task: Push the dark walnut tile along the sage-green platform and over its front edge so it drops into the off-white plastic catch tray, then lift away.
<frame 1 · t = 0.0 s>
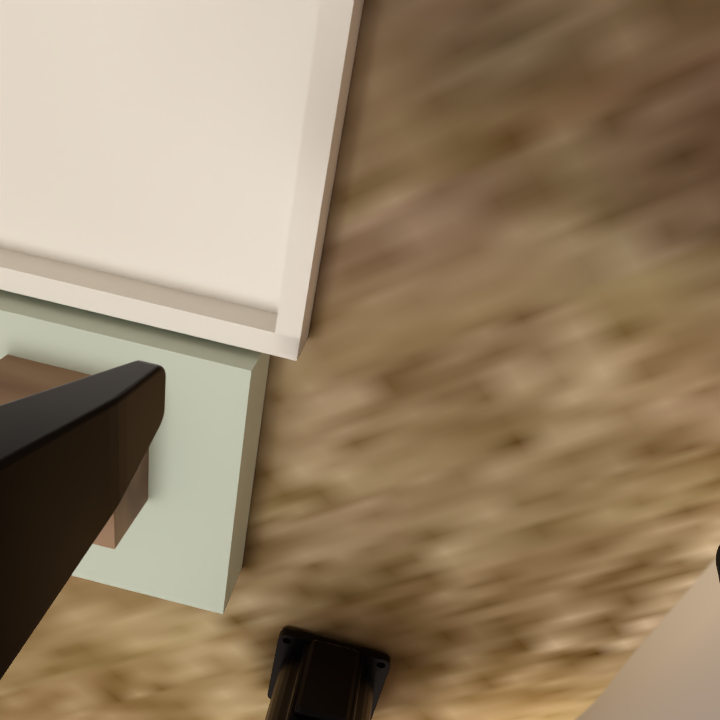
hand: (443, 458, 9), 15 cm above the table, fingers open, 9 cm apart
walnut tile: (81, 430, 26), point 3 cm above the table, touching platform
platform: (116, 432, 29), on the table
catch tray: (111, 110, 22), on the table
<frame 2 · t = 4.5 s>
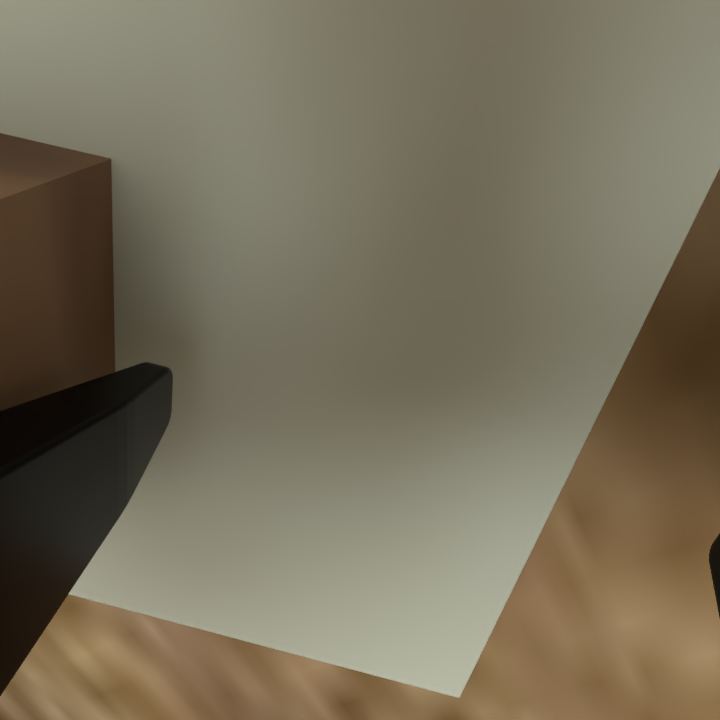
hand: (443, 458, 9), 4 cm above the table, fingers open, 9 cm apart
platform: (216, 283, 13), on the table
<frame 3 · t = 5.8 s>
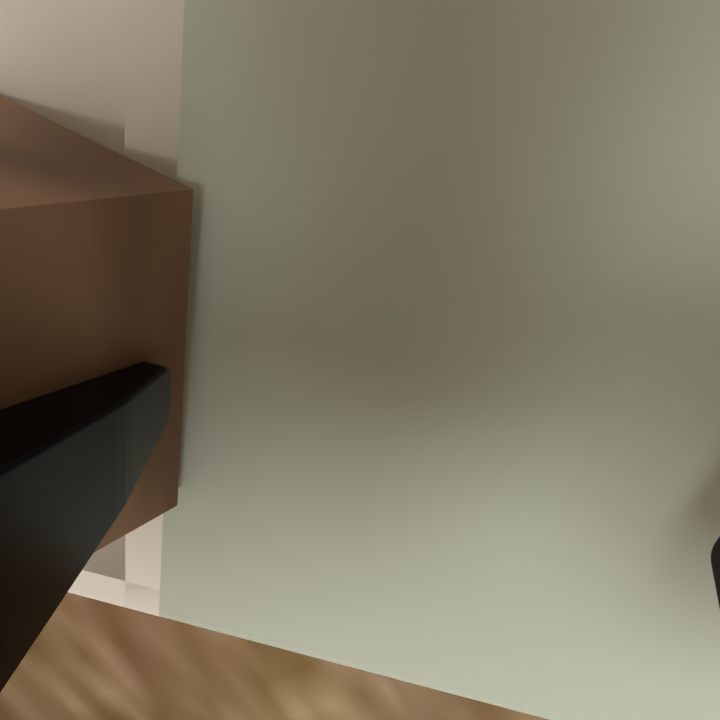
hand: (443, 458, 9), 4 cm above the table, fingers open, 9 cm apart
walnut tile: (82, 298, 11), point 2 cm above the table, tilted 30°, touching catch tray, gripper
platform: (565, 368, 12), on the table
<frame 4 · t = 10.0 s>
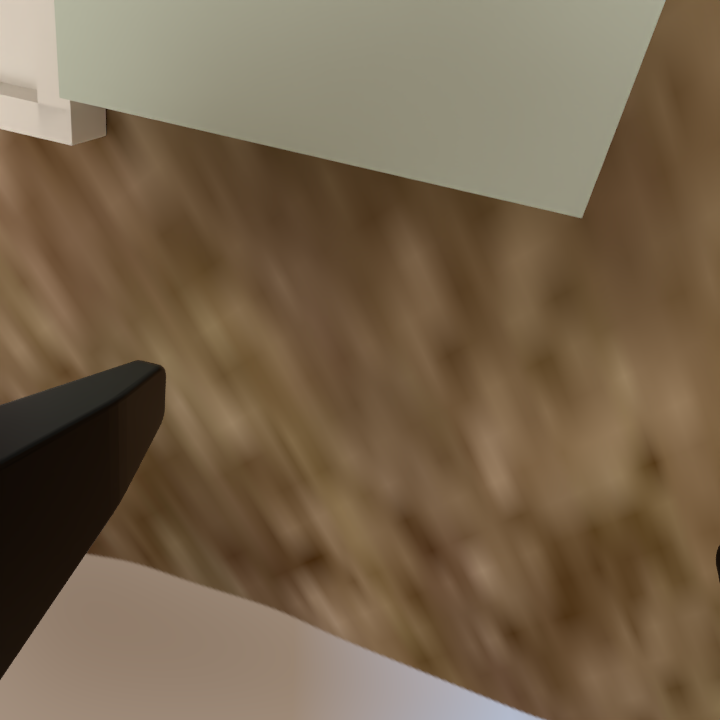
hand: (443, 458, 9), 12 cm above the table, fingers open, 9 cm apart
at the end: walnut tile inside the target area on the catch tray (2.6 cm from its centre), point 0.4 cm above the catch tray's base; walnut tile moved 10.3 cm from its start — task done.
